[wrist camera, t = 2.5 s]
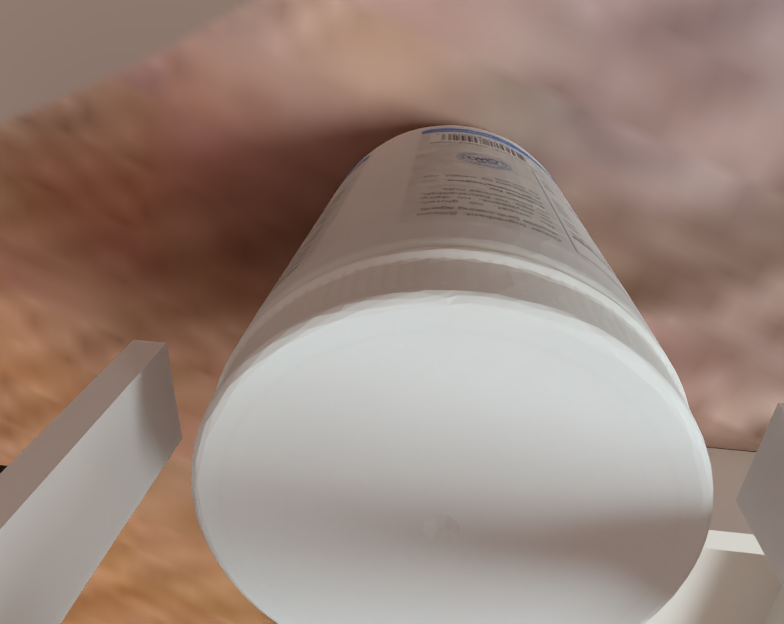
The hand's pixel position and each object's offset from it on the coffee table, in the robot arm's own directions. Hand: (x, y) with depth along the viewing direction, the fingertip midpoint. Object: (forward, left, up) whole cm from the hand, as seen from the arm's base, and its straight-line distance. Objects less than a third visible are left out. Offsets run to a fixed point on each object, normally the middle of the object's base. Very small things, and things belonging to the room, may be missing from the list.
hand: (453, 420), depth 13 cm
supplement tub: (0, 0, -12) cm, 12 cm away
